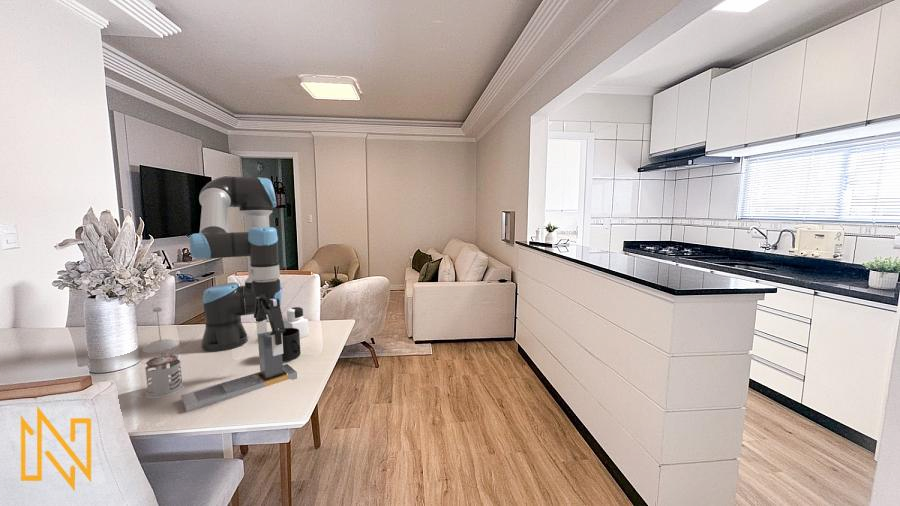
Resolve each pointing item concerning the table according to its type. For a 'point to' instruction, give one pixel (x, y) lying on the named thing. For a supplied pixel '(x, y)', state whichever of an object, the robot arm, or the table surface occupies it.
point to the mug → (291, 344)
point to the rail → (232, 389)
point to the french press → (163, 368)
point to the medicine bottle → (297, 321)
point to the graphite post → (268, 358)
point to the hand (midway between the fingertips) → (270, 347)
